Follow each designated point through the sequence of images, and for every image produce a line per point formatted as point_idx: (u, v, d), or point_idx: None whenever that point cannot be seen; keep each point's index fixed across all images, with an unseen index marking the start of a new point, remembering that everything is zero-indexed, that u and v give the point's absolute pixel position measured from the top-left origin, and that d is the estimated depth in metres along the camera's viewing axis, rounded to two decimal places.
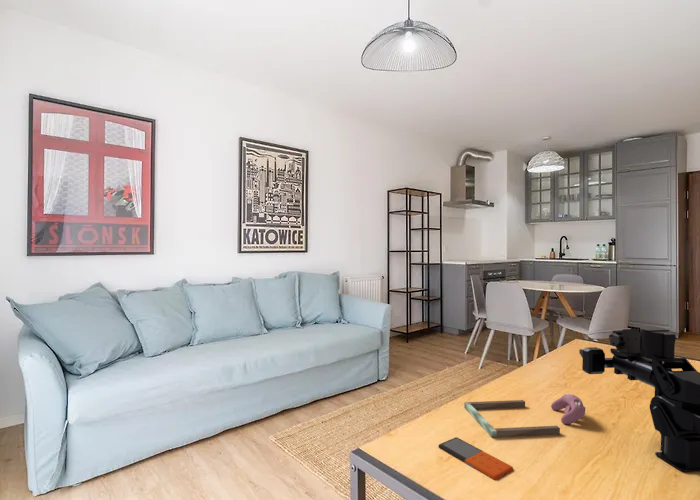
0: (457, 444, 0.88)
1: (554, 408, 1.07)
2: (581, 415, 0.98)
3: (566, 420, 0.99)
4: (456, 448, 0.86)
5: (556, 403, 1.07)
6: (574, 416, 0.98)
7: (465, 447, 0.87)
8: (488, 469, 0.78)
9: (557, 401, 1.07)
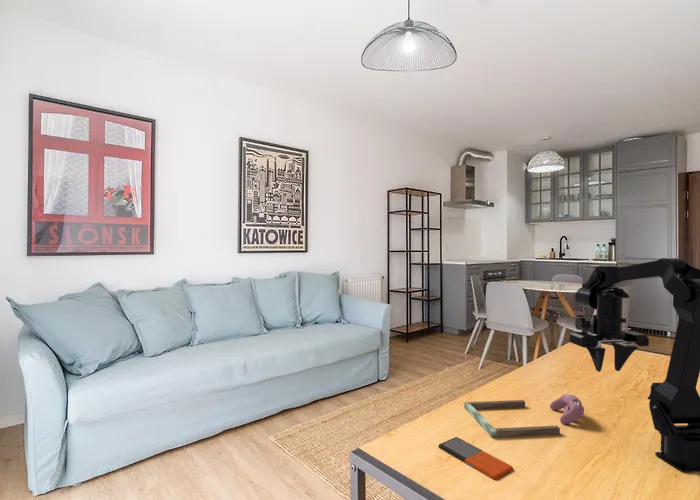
0: (457, 444, 0.88)
1: (553, 408, 1.07)
2: (580, 415, 0.98)
3: (564, 420, 0.99)
4: (456, 448, 0.86)
5: (555, 403, 1.07)
6: (573, 416, 0.98)
7: (465, 447, 0.87)
8: (488, 469, 0.78)
9: (556, 401, 1.07)
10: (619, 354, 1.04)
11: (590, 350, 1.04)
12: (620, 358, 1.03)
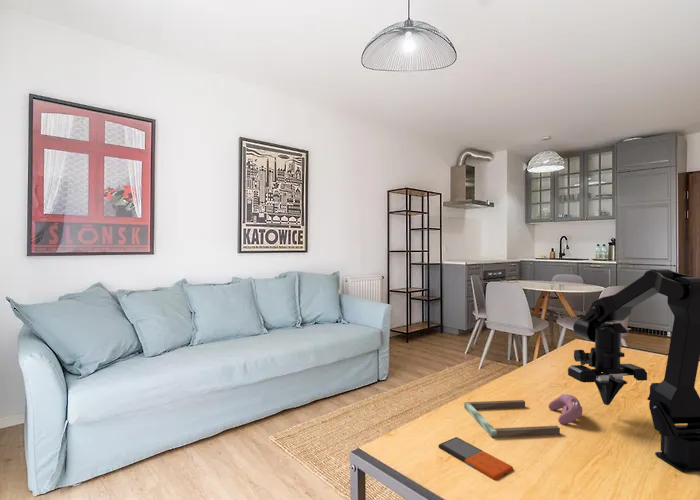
0: (457, 444, 0.88)
1: (551, 408, 1.07)
2: (578, 415, 0.98)
3: (563, 420, 0.99)
4: (456, 448, 0.86)
5: (553, 403, 1.07)
6: (571, 416, 0.98)
7: (465, 447, 0.87)
8: (488, 469, 0.78)
9: (554, 401, 1.07)
10: None
11: (597, 383, 1.05)
12: None
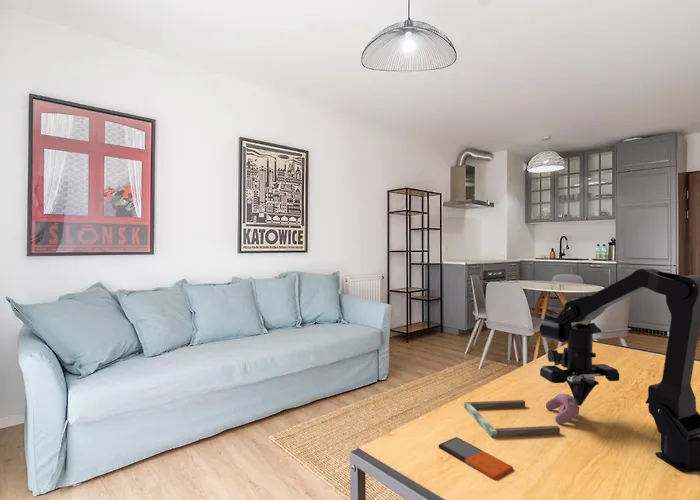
0: (457, 444, 0.88)
1: (548, 407, 1.07)
2: (575, 414, 0.98)
3: (560, 419, 0.99)
4: (456, 448, 0.86)
5: (550, 402, 1.07)
6: (568, 416, 0.98)
7: (465, 447, 0.87)
8: (488, 469, 0.78)
9: (551, 400, 1.07)
10: None
11: (570, 384, 1.04)
12: None
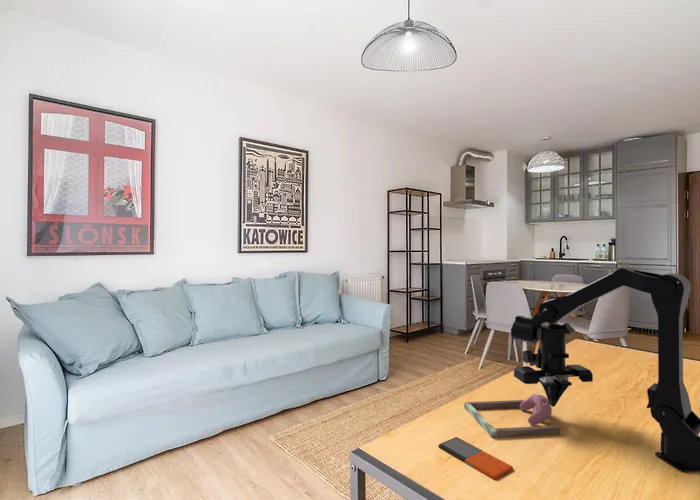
0: (457, 444, 0.88)
1: (522, 408, 1.07)
2: (547, 415, 0.98)
3: (532, 420, 0.98)
4: (456, 448, 0.86)
5: (524, 403, 1.06)
6: (540, 417, 0.98)
7: (465, 447, 0.87)
8: (488, 469, 0.78)
9: (525, 401, 1.06)
10: None
11: (543, 384, 1.03)
12: None
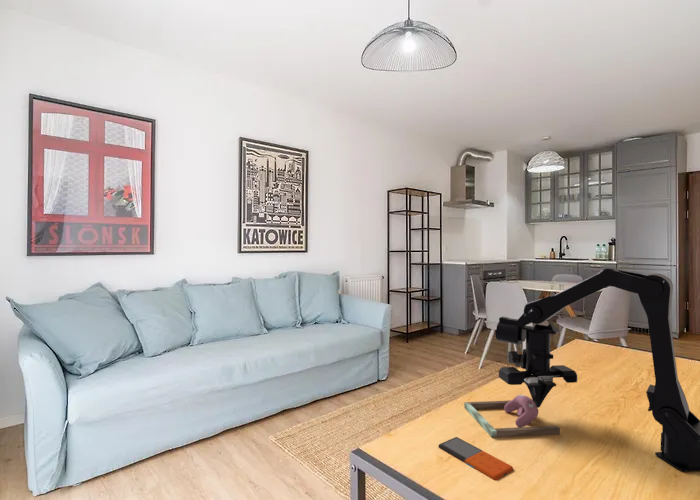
0: (457, 444, 0.88)
1: (507, 410, 1.05)
2: (534, 417, 0.97)
3: (520, 423, 0.97)
4: (456, 448, 0.86)
5: (509, 405, 1.05)
6: (528, 419, 0.97)
7: (465, 447, 0.87)
8: (488, 469, 0.78)
9: (510, 403, 1.05)
10: None
11: (528, 385, 1.03)
12: None
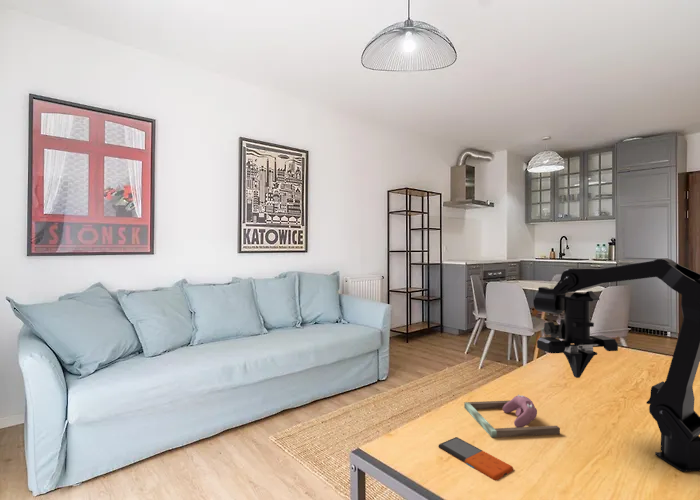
0: (457, 444, 0.88)
1: (505, 410, 1.05)
2: (533, 417, 0.97)
3: (519, 423, 0.97)
4: (456, 448, 0.86)
5: (507, 405, 1.05)
6: (527, 419, 0.97)
7: (465, 447, 0.87)
8: (488, 469, 0.78)
9: (508, 403, 1.05)
10: None
11: (567, 355, 1.01)
12: None
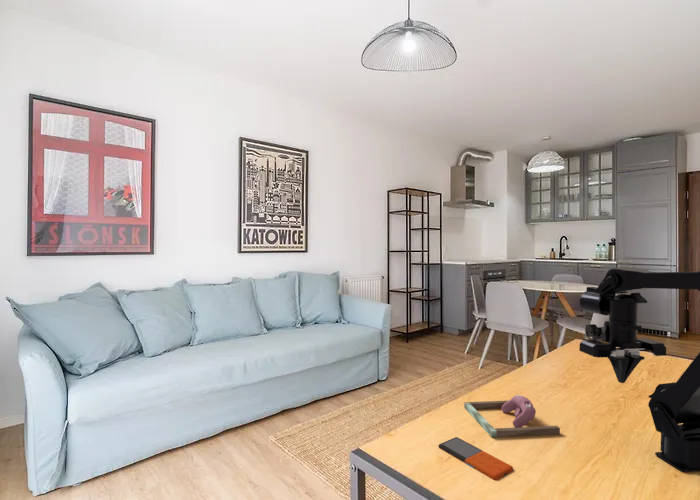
0: (457, 444, 0.88)
1: (504, 410, 1.05)
2: (532, 417, 0.97)
3: (517, 423, 0.97)
4: (456, 448, 0.86)
5: (506, 405, 1.05)
6: (525, 419, 0.97)
7: (465, 447, 0.87)
8: (488, 469, 0.78)
9: (507, 403, 1.05)
10: None
11: (611, 359, 0.96)
12: None
